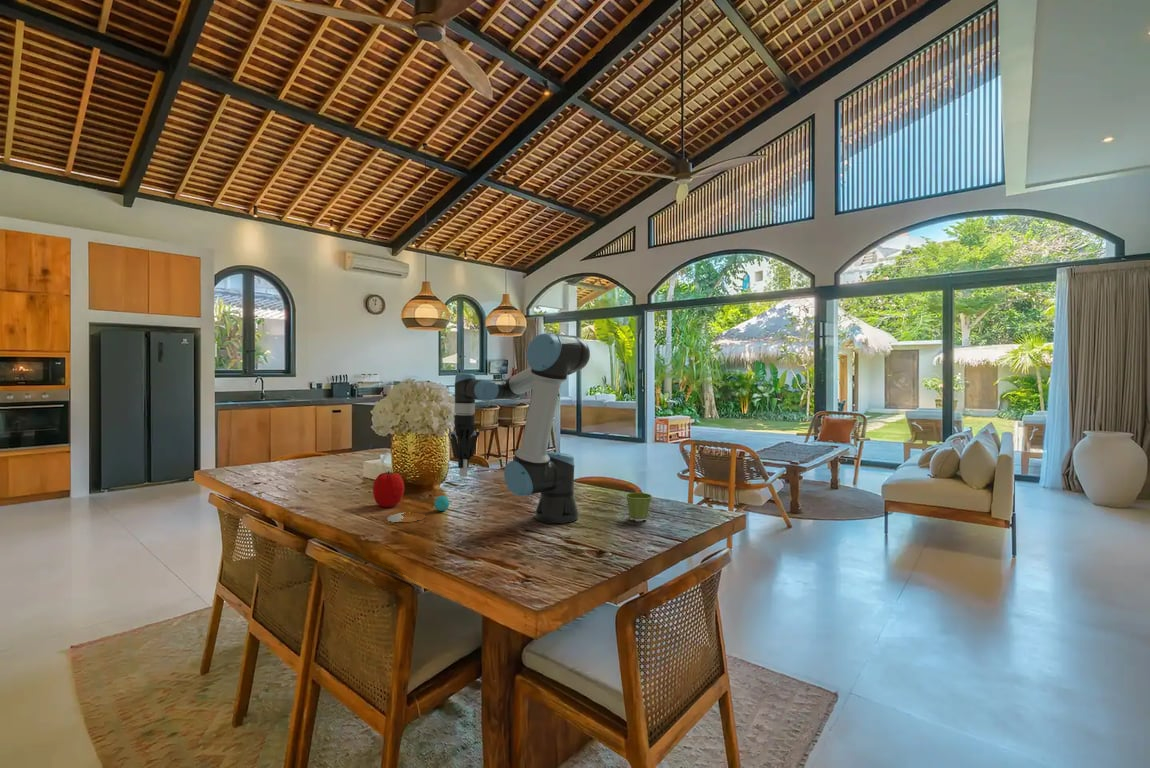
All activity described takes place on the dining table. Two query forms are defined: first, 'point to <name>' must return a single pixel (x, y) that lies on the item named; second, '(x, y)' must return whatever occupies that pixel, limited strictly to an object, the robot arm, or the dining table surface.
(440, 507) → the ball
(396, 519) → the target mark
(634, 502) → the plant pot
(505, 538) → the dining table surface
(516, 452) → the robot arm
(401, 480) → the tomato
